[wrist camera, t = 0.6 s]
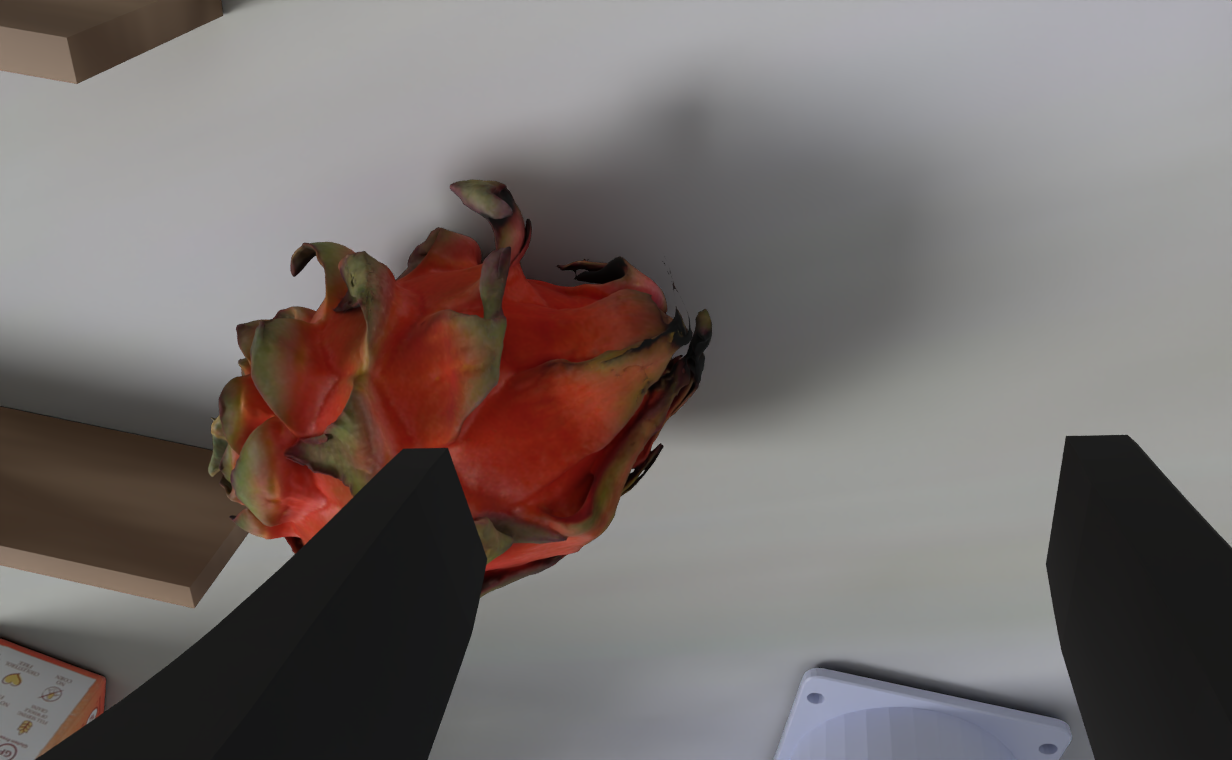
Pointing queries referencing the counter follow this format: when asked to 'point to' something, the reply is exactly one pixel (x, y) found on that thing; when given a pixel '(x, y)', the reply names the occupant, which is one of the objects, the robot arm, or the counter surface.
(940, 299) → the counter surface
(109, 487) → the box
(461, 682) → the counter surface
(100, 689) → the cracker box
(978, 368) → the counter surface
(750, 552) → the counter surface
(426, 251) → the dragon fruit
